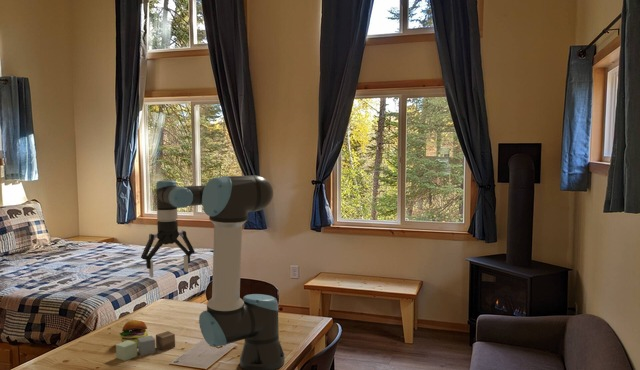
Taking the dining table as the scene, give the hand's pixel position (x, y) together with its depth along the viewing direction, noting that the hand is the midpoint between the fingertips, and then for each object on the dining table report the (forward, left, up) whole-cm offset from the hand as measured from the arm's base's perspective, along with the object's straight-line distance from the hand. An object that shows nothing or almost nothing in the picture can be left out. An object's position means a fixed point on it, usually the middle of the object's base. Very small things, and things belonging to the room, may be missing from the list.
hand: (169, 274), depth 188 cm
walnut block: (-7, +5, -26) cm, 27 cm away
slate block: (-7, +12, -26) cm, 29 cm away
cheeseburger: (+5, +13, -26) cm, 29 cm away
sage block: (-7, +19, -26) cm, 33 cm away
